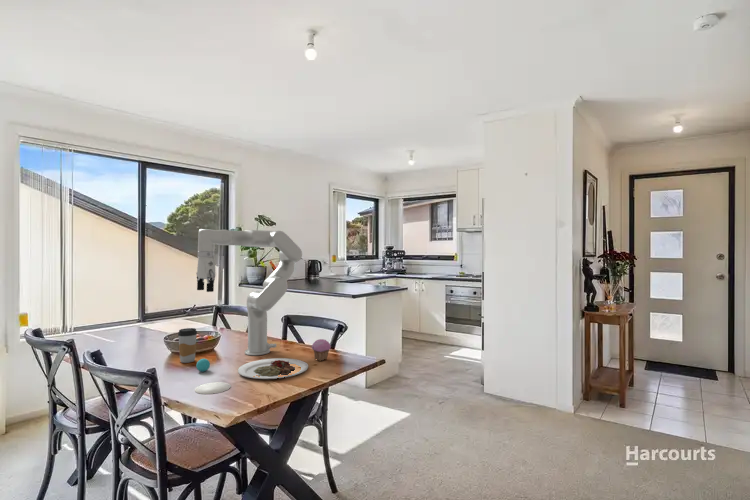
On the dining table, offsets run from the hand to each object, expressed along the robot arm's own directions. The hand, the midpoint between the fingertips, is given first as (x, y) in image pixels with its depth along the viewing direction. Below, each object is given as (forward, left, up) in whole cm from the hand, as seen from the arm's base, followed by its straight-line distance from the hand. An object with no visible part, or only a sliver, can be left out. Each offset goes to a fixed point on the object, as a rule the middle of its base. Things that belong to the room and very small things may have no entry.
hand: (205, 290), depth 200 cm
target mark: (+3, +44, -33) cm, 55 cm away
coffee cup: (+7, -2, -33) cm, 34 cm away
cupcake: (-49, +27, -34) cm, 65 cm away
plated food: (-24, +33, -34) cm, 52 cm away
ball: (+3, +19, -31) cm, 36 cm away
